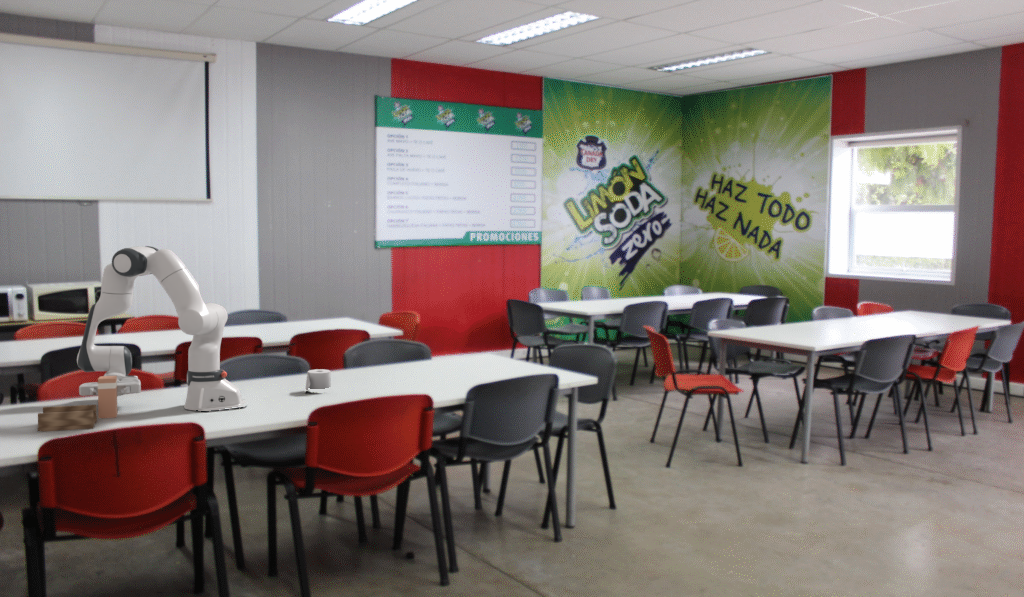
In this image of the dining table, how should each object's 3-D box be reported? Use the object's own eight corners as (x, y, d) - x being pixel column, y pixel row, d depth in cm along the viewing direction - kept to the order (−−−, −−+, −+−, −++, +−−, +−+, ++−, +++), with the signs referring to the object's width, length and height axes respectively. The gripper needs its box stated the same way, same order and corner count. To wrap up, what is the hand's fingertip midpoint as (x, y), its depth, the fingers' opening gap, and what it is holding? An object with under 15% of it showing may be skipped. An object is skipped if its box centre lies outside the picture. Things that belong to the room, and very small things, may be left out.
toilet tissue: (301, 395, 324) (301, 374, 323) (312, 388, 337) (312, 368, 336) (322, 396, 323) (322, 375, 322) (333, 389, 336) (333, 369, 335)
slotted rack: (96, 420, 274) (96, 403, 273) (92, 428, 263) (92, 411, 262) (44, 423, 268) (43, 406, 267) (37, 431, 257) (37, 414, 256)
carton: (117, 414, 283) (116, 375, 282) (116, 417, 278) (115, 378, 277) (100, 415, 281) (99, 376, 280) (98, 418, 276) (97, 379, 275)
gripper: (81, 378, 290) (75, 385, 277) (142, 375, 298) (139, 382, 285) (81, 394, 291) (76, 402, 278) (142, 392, 298) (139, 399, 286)
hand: (108, 392), depth 282 cm, fingers open, 8 cm apart
